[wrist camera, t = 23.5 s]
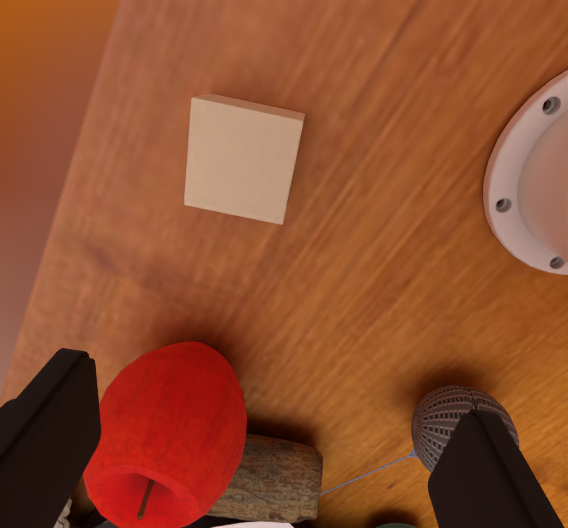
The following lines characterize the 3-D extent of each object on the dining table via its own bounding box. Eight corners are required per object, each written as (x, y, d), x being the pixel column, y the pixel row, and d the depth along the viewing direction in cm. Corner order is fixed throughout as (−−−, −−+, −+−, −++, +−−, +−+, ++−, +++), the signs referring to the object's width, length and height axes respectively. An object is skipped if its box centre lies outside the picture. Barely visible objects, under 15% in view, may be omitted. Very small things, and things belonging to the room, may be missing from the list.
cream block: (209, 92, 22) (191, 96, 19) (305, 113, 22) (303, 120, 19) (200, 187, 24) (183, 205, 21) (286, 204, 24) (282, 225, 21)
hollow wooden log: (129, 458, 27) (160, 393, 33) (125, 523, 30) (154, 451, 36) (334, 492, 28) (327, 422, 34) (313, 552, 30) (309, 477, 37)
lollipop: (356, 407, 44) (306, 390, 41) (535, 396, 28) (471, 366, 25) (346, 504, 39) (289, 490, 36) (554, 556, 23) (478, 539, 21)
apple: (208, 423, 34) (158, 588, 23) (114, 361, 31) (8, 515, 21) (283, 363, 30) (266, 528, 19) (184, 287, 28) (100, 428, 17)
